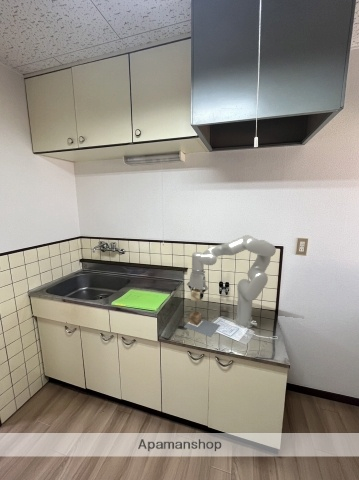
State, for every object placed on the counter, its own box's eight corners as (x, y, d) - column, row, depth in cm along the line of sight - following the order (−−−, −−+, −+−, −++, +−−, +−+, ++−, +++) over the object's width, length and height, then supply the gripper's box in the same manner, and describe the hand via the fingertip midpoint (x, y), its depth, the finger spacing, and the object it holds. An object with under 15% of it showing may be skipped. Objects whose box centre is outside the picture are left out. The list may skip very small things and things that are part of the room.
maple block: (202, 298, 148) (203, 290, 147) (198, 302, 143) (199, 293, 142) (195, 296, 151) (195, 288, 150) (190, 299, 146) (191, 291, 145)
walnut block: (201, 321, 154) (201, 313, 153) (197, 325, 149) (197, 317, 148) (193, 318, 157) (194, 311, 156) (189, 322, 152) (189, 315, 151)
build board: (220, 326, 149) (220, 325, 149) (210, 338, 137) (210, 337, 137) (194, 317, 160) (194, 316, 160) (183, 327, 148) (183, 326, 148)
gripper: (212, 272, 142) (211, 297, 146) (188, 267, 151) (188, 291, 154) (207, 275, 136) (206, 302, 139) (183, 270, 144) (183, 295, 148)
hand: (197, 296), depth 147 cm, fingers closed on maple block, 5 cm apart
